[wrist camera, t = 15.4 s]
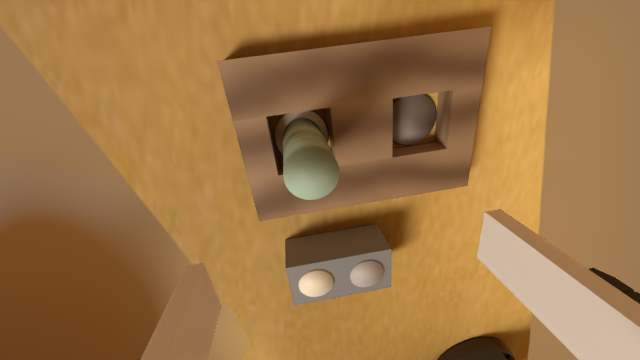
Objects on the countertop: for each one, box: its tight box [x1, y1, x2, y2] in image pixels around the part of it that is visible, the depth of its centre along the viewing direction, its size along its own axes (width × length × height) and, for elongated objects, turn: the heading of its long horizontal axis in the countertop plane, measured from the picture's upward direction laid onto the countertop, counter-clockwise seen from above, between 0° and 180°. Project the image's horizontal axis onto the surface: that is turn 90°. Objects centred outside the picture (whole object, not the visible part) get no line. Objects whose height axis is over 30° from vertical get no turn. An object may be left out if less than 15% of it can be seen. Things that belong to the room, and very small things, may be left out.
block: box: [285, 224, 392, 306], centre depth 32 cm, size 6×12×5 cm, turn 96°
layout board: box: [217, 26, 492, 221], centre depth 27 cm, size 16×24×2 cm, turn 97°
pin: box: [283, 118, 340, 200], centre depth 23 cm, size 4×4×10 cm
